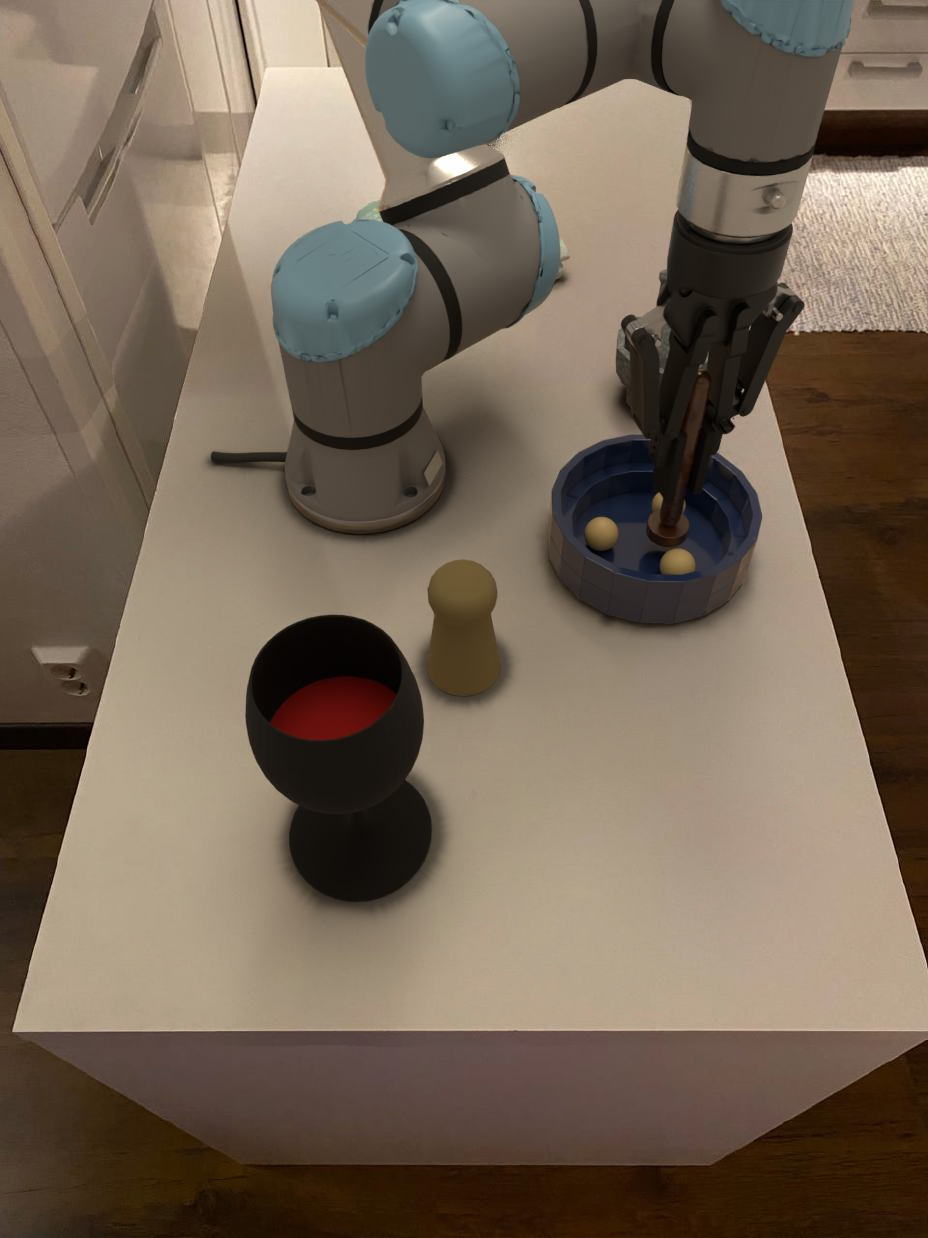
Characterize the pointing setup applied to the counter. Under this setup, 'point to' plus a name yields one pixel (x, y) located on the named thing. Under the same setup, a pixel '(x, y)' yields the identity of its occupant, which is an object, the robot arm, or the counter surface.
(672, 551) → the chickpea
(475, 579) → the cork
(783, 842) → the counter surface
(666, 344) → the mortar and pestle
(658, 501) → the chickpea
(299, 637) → the wine glass
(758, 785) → the counter surface
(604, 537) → the chickpea
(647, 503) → the bowl
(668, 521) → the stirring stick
